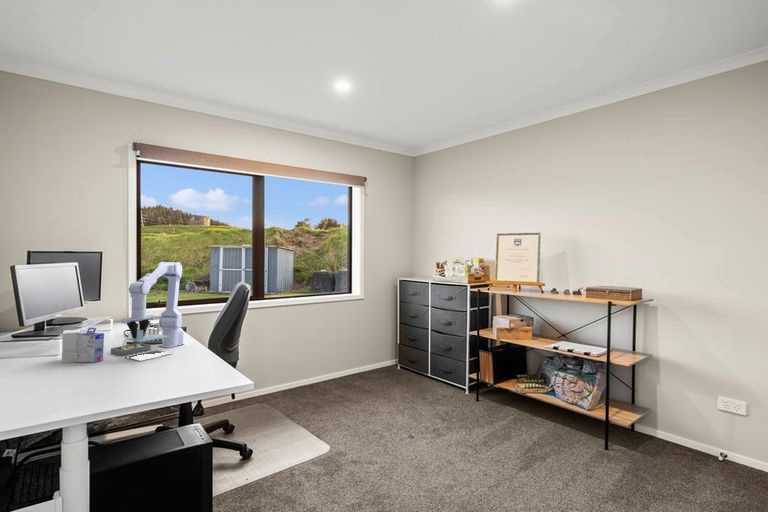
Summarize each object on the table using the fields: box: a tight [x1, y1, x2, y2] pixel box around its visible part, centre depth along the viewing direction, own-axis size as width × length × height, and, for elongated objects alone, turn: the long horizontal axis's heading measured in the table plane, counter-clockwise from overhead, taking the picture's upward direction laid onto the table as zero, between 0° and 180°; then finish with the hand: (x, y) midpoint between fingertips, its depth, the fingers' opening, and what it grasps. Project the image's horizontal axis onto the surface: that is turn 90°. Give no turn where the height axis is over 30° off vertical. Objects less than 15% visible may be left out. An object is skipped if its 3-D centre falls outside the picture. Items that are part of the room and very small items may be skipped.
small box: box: [61, 329, 82, 364], centre depth 181 cm, size 8×6×13 cm
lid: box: [127, 328, 170, 343], centre depth 192 cm, size 15×10×5 cm, turn 153°
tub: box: [110, 342, 152, 357], centre depth 199 cm, size 14×9×2 cm, turn 153°
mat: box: [124, 349, 165, 359], centre depth 192 cm, size 16×12×1 cm
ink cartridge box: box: [75, 327, 105, 364], centre depth 181 cm, size 10×6×14 cm, turn 85°
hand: (138, 337), depth 187 cm, fingers closed on lid, 3 cm apart
